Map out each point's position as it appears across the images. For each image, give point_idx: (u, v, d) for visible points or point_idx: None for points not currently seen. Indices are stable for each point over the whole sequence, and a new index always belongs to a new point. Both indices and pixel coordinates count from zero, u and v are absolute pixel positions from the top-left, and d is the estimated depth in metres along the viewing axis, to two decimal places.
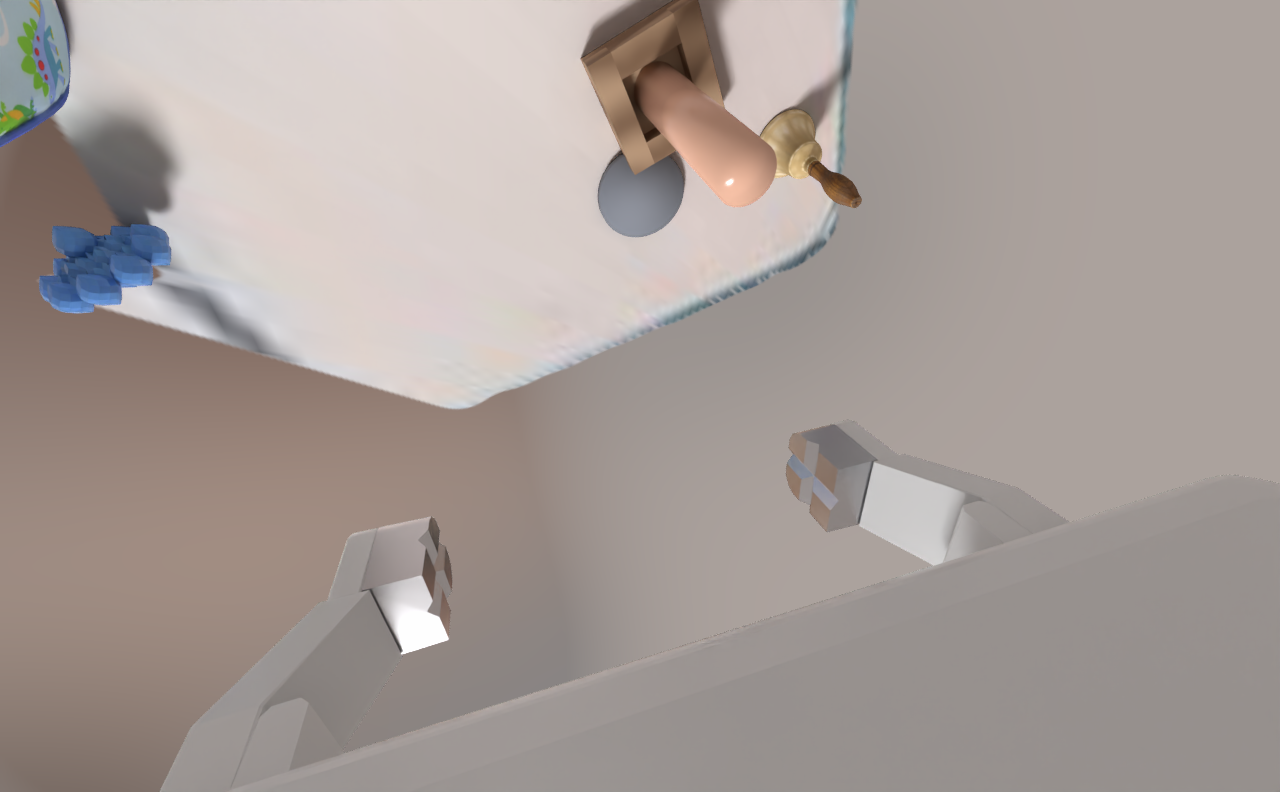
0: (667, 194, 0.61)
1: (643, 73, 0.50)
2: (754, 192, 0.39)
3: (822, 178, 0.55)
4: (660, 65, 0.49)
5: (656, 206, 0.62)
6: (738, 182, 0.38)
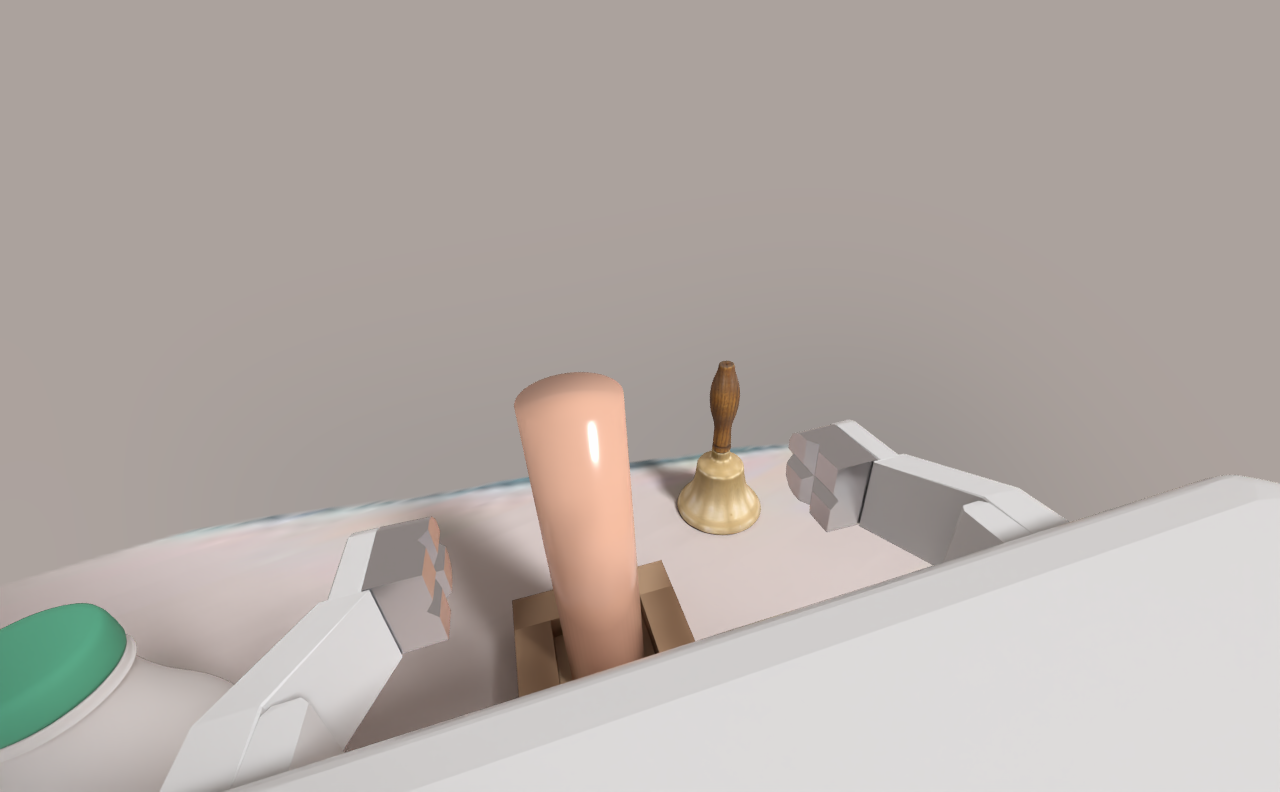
0: None
1: None
2: (604, 387, 0.24)
3: (720, 424, 0.43)
4: None
5: None
6: (576, 404, 0.22)
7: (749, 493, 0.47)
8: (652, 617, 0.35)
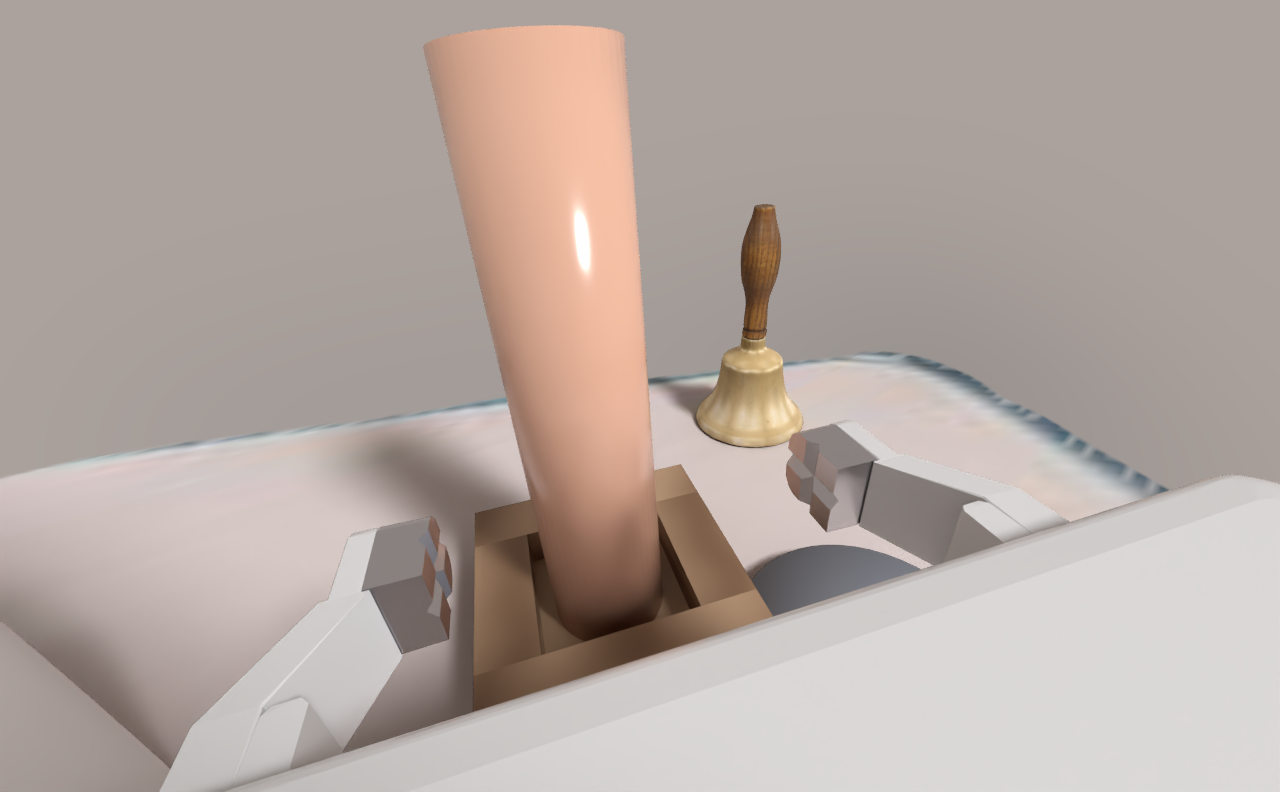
0: (852, 579, 0.24)
1: (560, 613, 0.22)
2: None
3: (755, 296, 0.33)
4: None
5: None
6: None
7: (789, 399, 0.37)
8: (672, 528, 0.25)
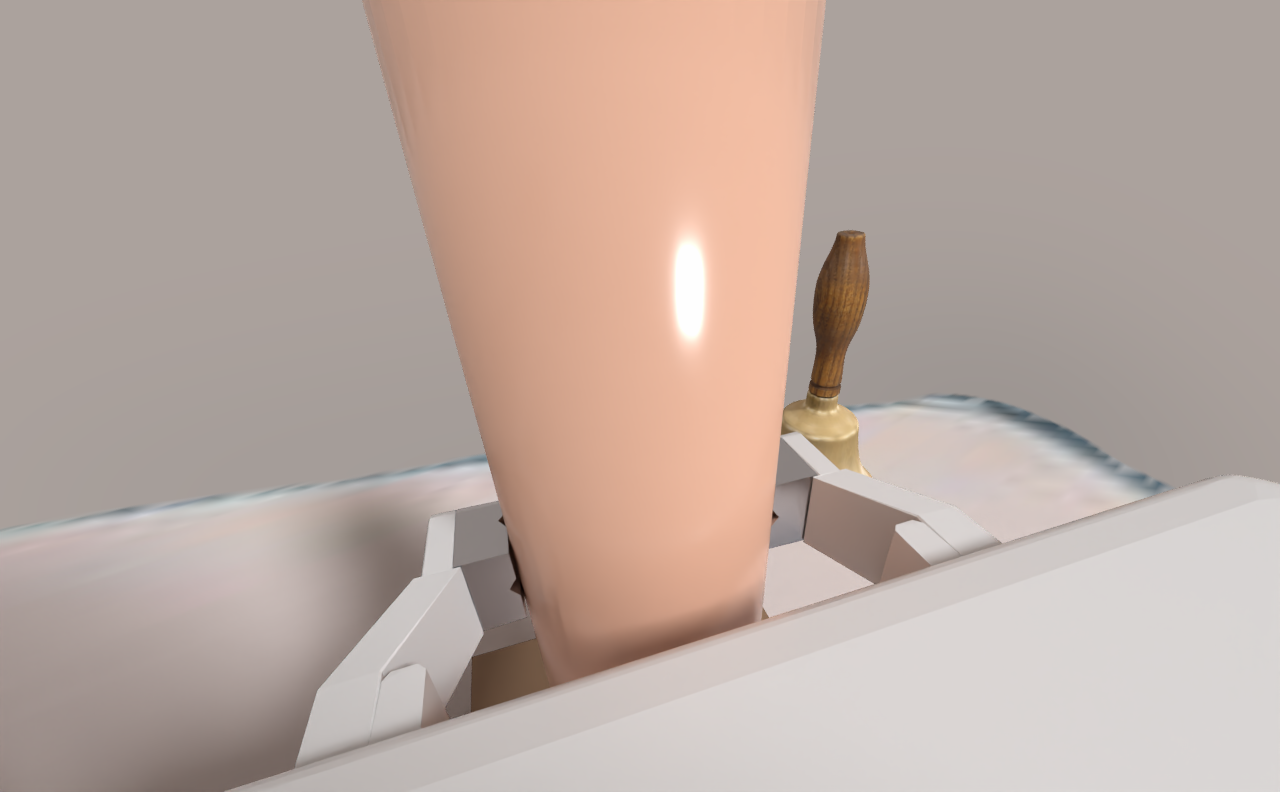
0: None
1: None
2: None
3: (831, 346, 0.26)
4: None
5: None
6: None
7: (862, 466, 0.30)
8: None
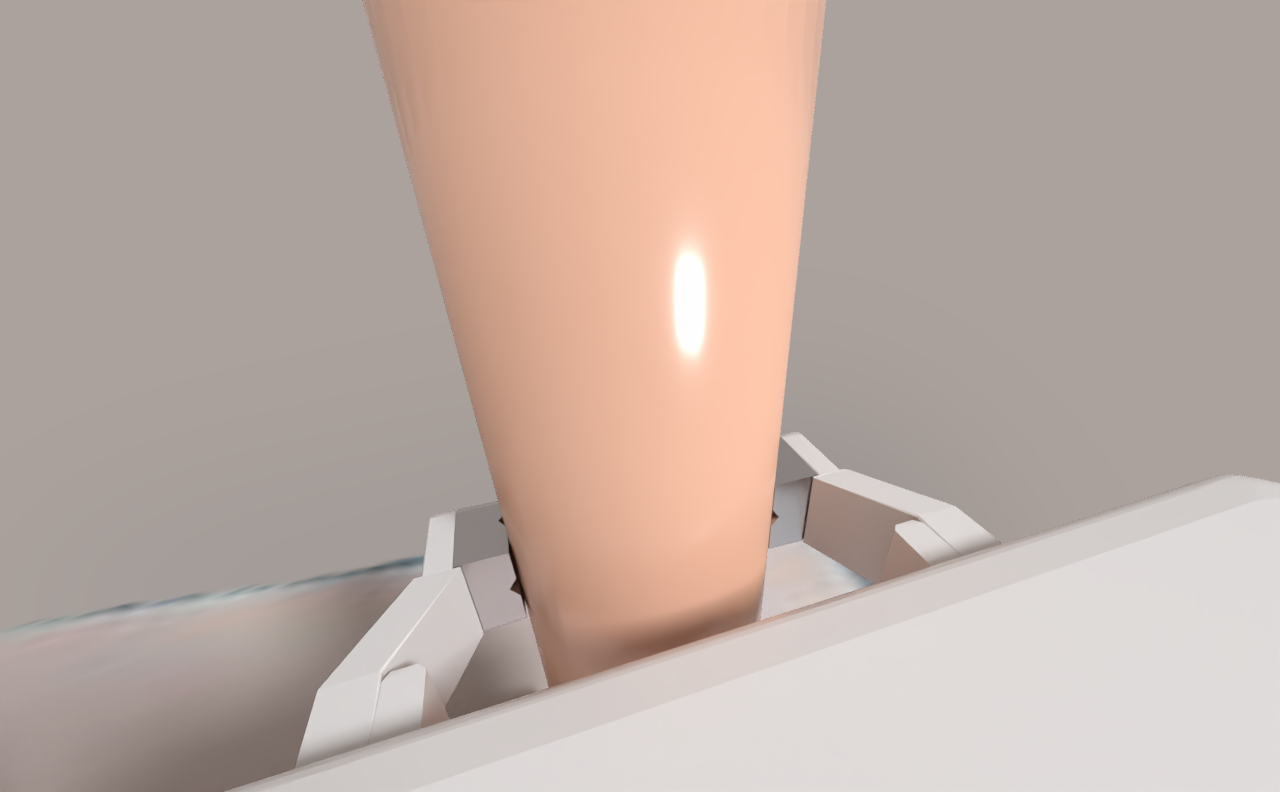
0: None
1: None
2: None
3: None
4: None
5: None
6: None
7: None
8: None
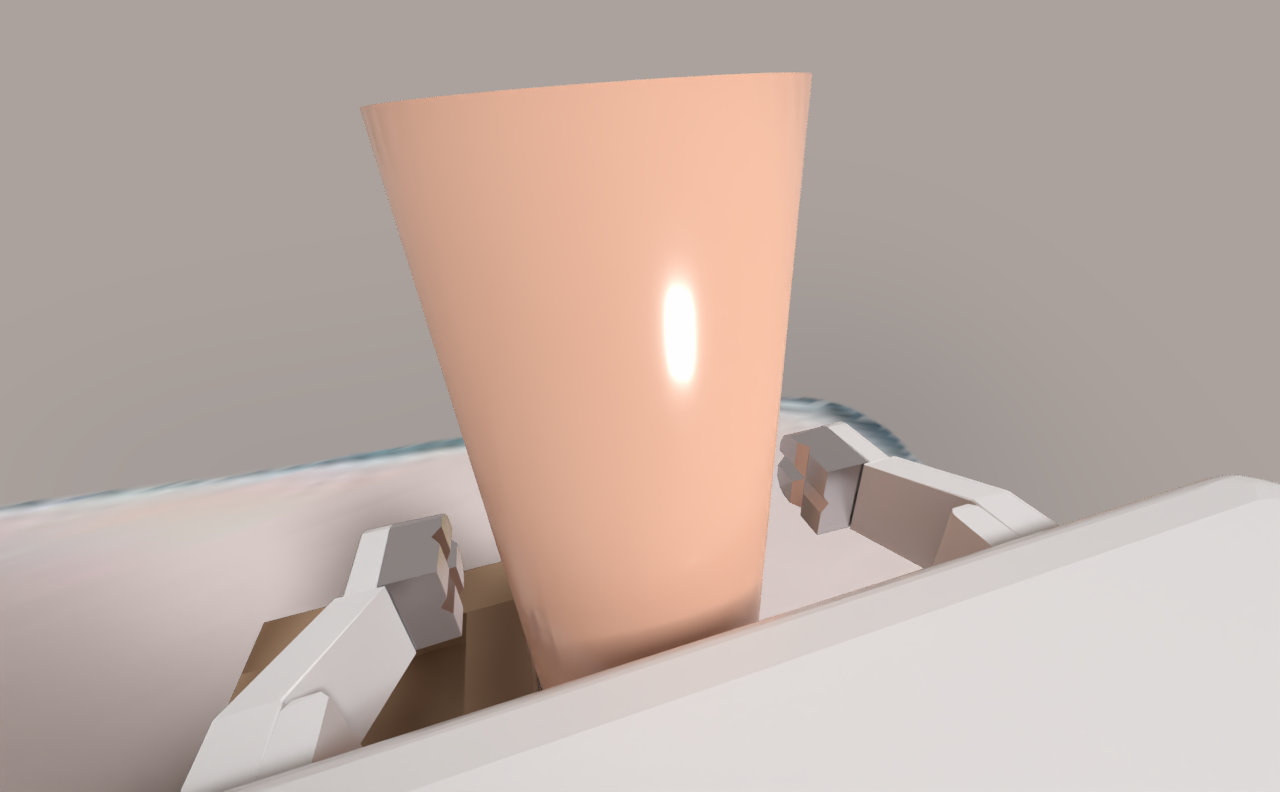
0: None
1: None
2: None
3: None
4: None
5: None
6: None
7: None
8: (474, 651, 0.21)
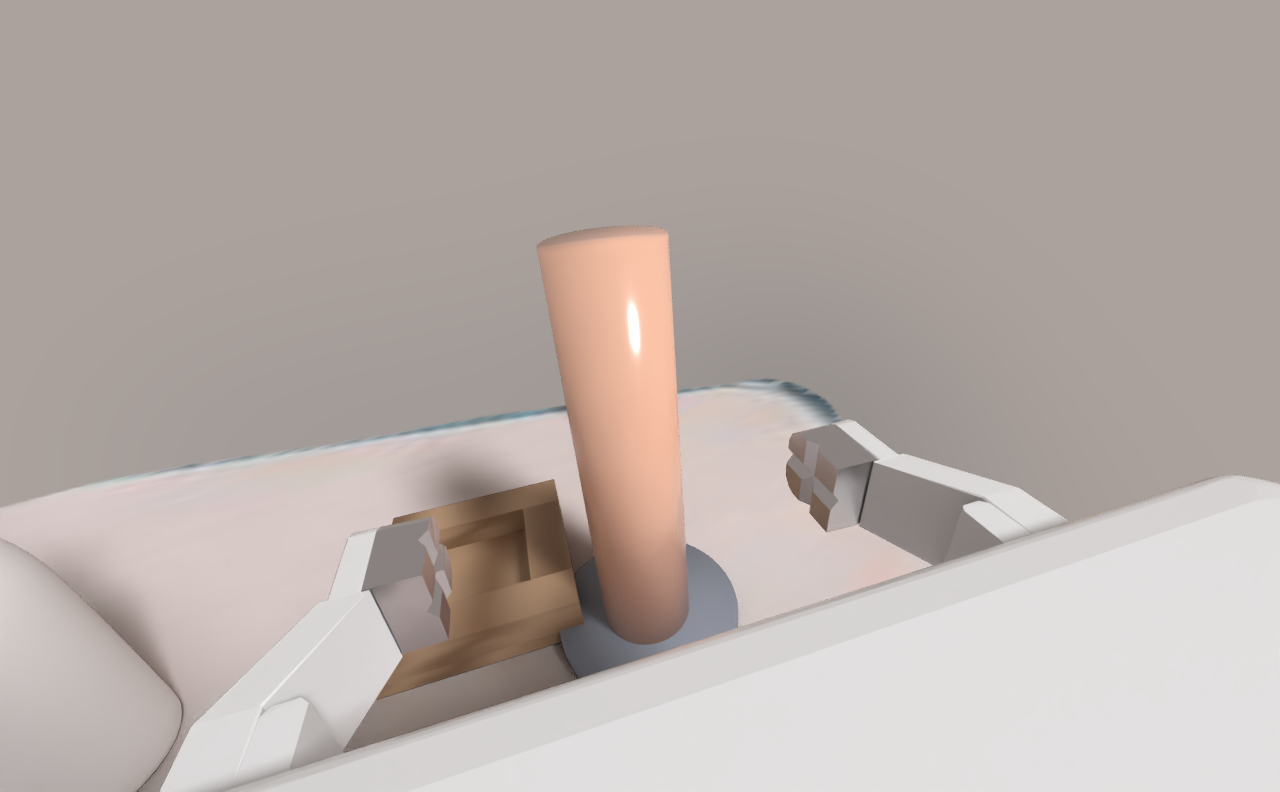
0: None
1: (610, 620, 0.28)
2: (644, 231, 0.20)
3: None
4: None
5: None
6: (612, 241, 0.19)
7: None
8: (530, 527, 0.34)
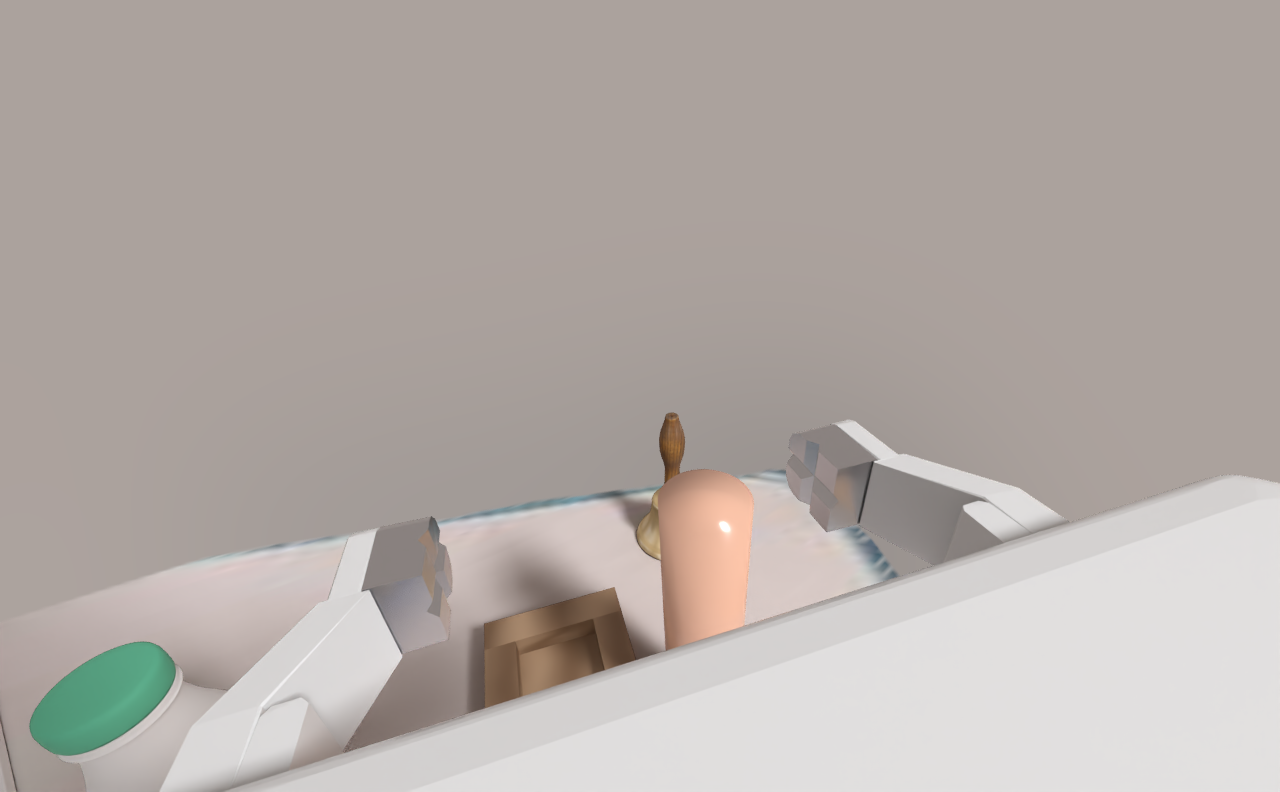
0: None
1: None
2: (733, 488, 0.27)
3: (669, 466, 0.49)
4: None
5: None
6: (714, 507, 0.26)
7: None
8: (602, 638, 0.41)
